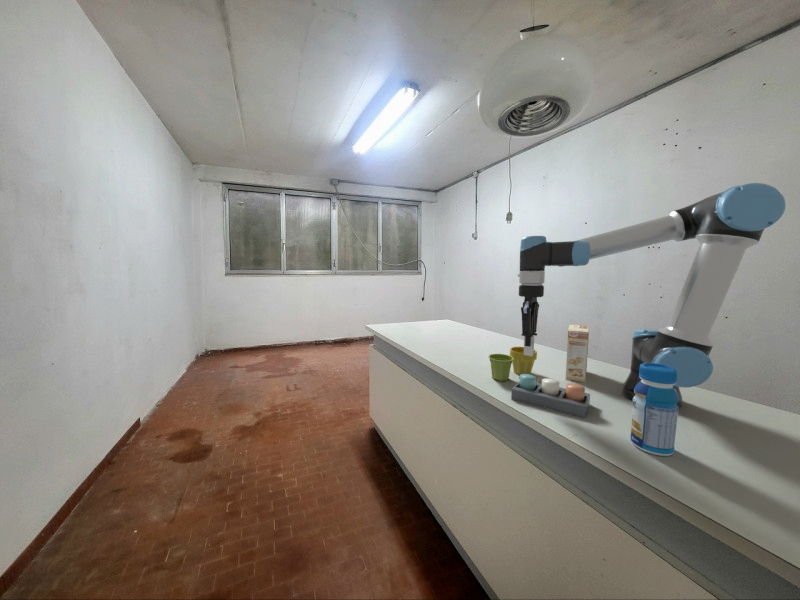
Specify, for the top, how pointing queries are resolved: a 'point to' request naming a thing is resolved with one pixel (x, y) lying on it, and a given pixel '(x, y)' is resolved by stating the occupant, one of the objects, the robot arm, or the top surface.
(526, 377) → the teal egg
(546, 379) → the cream egg
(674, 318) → the robot arm
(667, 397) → the beverage bottle
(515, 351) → the plant pot
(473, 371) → the top surface
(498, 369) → the plant pot
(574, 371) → the coffeecake box
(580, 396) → the terracotta egg
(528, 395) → the egg display tray
